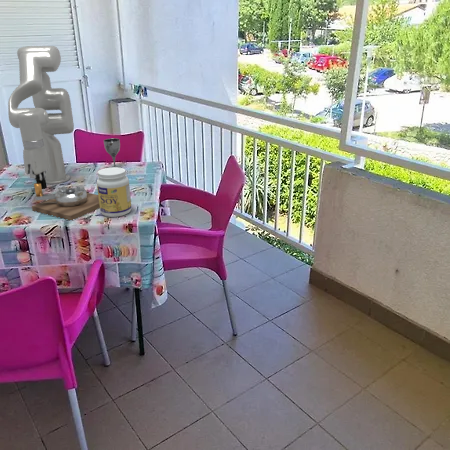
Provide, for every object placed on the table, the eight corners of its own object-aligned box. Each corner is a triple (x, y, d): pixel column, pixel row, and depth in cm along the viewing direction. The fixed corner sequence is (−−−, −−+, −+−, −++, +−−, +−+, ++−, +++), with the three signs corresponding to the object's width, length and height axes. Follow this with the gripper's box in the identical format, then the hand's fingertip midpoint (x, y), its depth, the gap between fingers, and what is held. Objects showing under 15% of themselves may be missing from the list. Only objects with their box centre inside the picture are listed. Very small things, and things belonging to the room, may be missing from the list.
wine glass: (115, 171, 222) (111, 142, 216) (104, 169, 226) (100, 140, 220) (126, 167, 228) (122, 139, 222) (115, 165, 232) (111, 137, 226)
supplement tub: (96, 217, 167) (90, 175, 160) (106, 206, 178) (100, 166, 172) (127, 218, 167) (123, 175, 160) (135, 206, 178) (131, 166, 171)
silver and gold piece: (88, 195, 184) (85, 176, 180) (85, 205, 173) (82, 185, 170) (40, 198, 181) (36, 179, 177) (34, 209, 170) (30, 188, 166)
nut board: (32, 210, 175) (31, 205, 174) (74, 194, 192) (73, 189, 191) (71, 220, 165) (70, 215, 164) (111, 202, 182) (111, 197, 181)
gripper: (36, 139, 177) (44, 182, 184) (12, 148, 163) (22, 194, 171) (52, 140, 175) (60, 183, 183) (30, 149, 162) (40, 195, 169)
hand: (42, 188), depth 177 cm, fingers closed
